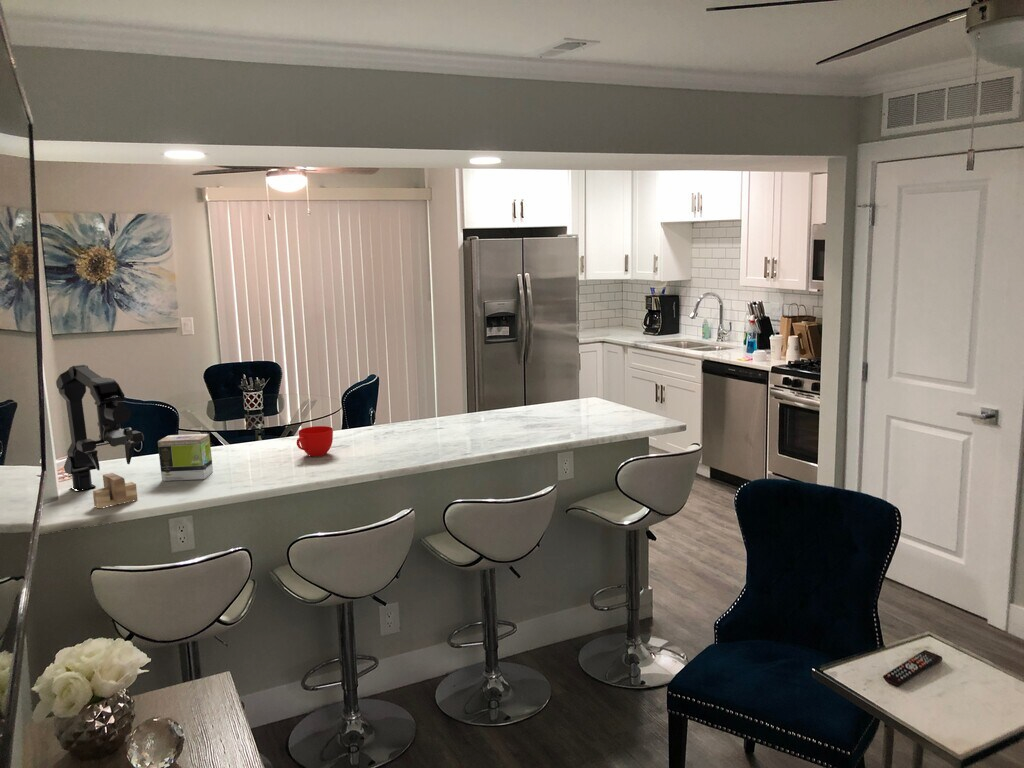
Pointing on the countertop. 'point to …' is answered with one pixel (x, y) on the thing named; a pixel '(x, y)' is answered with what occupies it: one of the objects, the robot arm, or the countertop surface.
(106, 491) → the u-shaped oak block
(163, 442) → the tea box
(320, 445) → the ceramic cup
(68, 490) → the countertop surface
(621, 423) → the countertop surface
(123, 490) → the tan wooden beam
